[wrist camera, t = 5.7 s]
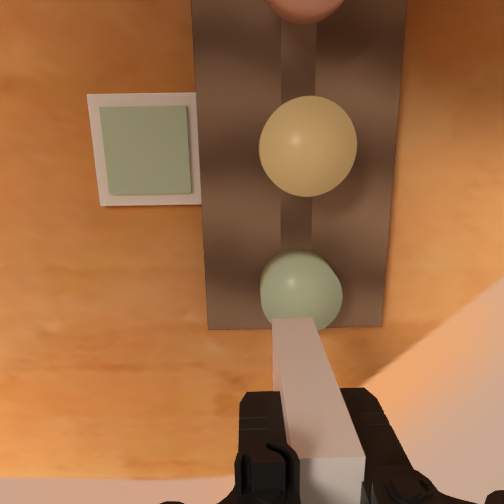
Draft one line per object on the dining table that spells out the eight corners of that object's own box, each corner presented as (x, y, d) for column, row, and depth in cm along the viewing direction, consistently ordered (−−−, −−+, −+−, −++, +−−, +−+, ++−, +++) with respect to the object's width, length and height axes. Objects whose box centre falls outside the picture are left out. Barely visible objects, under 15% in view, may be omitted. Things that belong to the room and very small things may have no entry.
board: (192, -66, 22) (186, -87, 20) (399, -69, 22) (414, -90, 20) (210, 317, 28) (208, 329, 26) (372, 314, 28) (381, 326, 26)
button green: (258, 241, 26) (260, 259, 21) (328, 239, 26) (344, 258, 21) (259, 305, 27) (261, 336, 23) (325, 304, 27) (340, 334, 23)
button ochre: (257, 107, 22) (259, 96, 18) (337, 105, 22) (359, 94, 18) (258, 188, 24) (260, 197, 19) (334, 187, 24) (354, 195, 19)
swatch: (89, 95, 24) (84, 93, 23) (199, 93, 24) (198, 91, 23) (102, 205, 26) (98, 206, 25) (205, 203, 26) (203, 205, 25)
